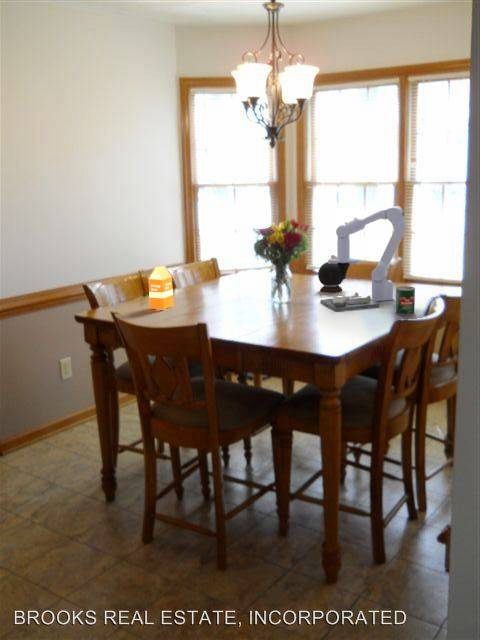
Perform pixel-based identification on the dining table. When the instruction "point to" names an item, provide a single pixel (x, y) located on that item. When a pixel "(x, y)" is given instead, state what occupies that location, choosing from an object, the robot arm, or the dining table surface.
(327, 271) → the black ball on base
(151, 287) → the orange juice
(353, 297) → the leg
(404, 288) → the canned tomato
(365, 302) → the bolt plate
